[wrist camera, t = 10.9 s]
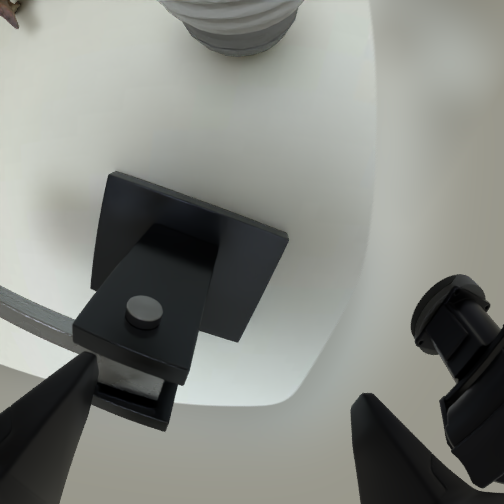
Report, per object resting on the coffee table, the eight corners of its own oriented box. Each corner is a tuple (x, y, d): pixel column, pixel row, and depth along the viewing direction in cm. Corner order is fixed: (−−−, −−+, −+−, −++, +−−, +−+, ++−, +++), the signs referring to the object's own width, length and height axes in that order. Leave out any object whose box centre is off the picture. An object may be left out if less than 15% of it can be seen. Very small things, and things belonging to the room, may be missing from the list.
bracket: (96, 280, 21) (20, 385, 11) (115, 170, 17) (-8, 236, 7) (238, 332, 23) (230, 464, 13) (287, 232, 19) (320, 362, 9)
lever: (-31, 279, 11) (-63, 314, 8) (-37, 226, 10) (-78, 257, 7) (164, 362, 14) (153, 419, 11) (179, 312, 13) (167, 373, 9)
